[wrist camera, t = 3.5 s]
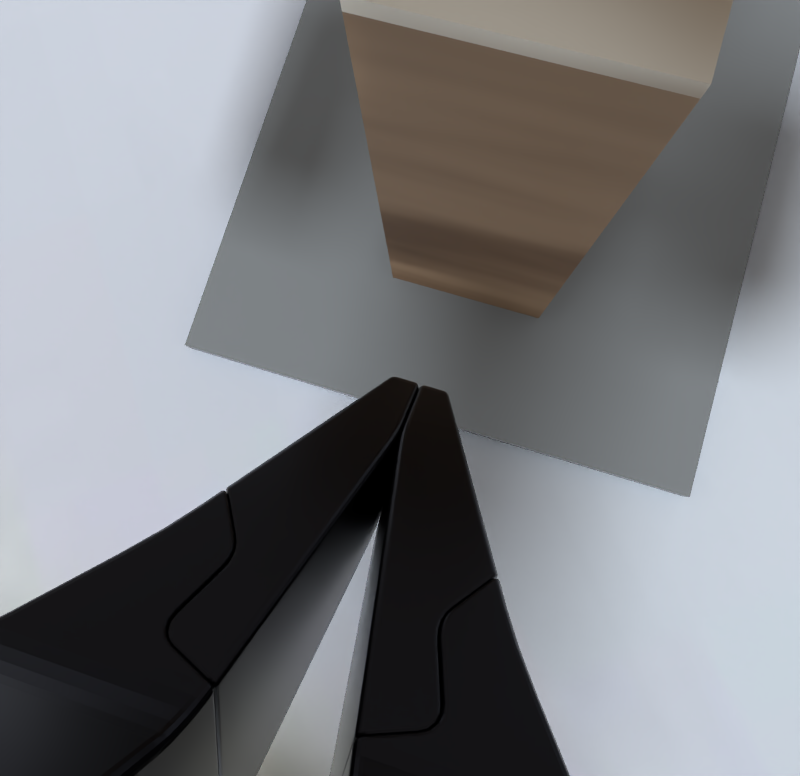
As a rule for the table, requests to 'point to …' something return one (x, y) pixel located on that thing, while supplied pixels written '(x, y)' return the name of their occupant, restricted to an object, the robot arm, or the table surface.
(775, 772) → the table surface
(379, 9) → the walnut block
